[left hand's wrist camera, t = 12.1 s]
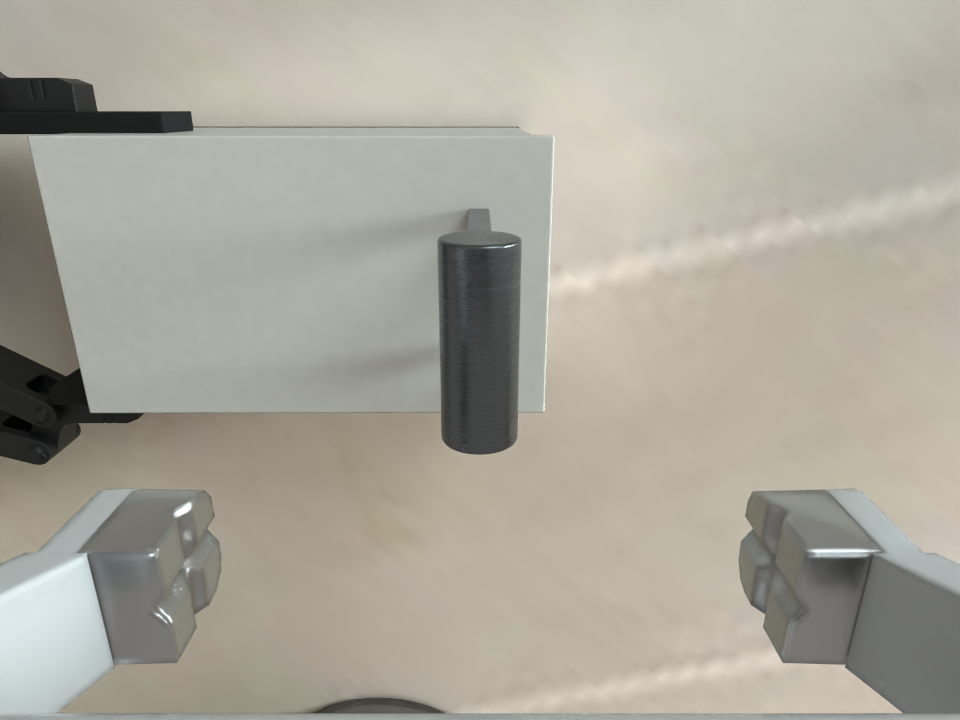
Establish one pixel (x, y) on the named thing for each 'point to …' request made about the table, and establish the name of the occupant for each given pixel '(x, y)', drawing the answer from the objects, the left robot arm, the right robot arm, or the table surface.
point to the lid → (307, 273)
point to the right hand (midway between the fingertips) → (199, 262)
